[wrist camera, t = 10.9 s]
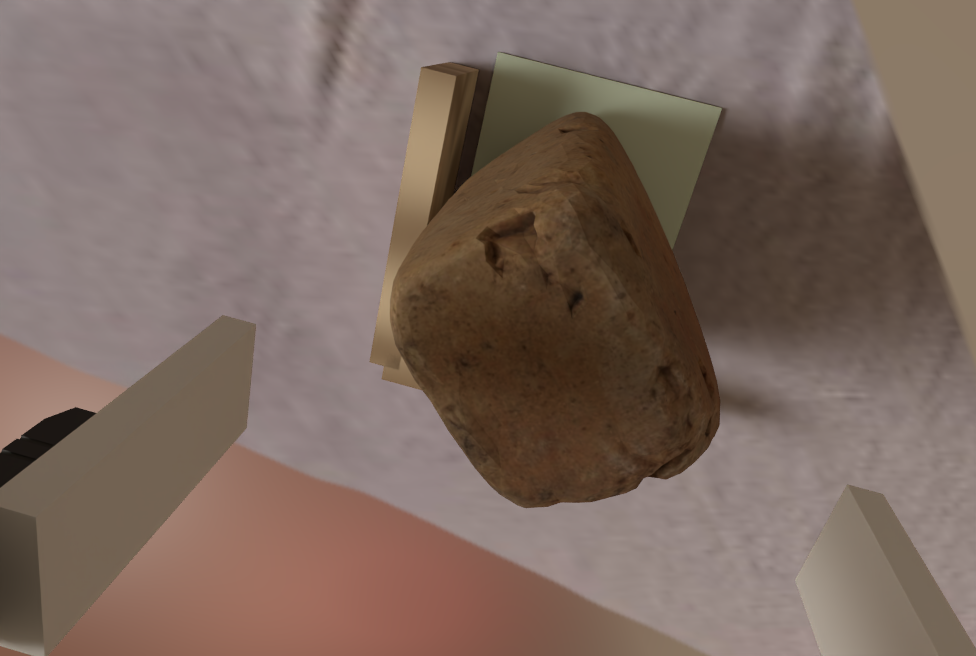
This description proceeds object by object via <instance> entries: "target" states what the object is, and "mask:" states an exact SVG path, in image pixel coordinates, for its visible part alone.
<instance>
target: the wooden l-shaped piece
mask: <svg viewBox="0 0 976 656" xmlns="http://www.w3.org/2000/svg"><path fill="white" fill-rule="evenodd" d="M478 72H479V70H478V69H474V68H470V67H466V66H462V65H459V64H455V63H451V62H448V63H442V64H437V65H431V66H426V67H421V72H420V78H419V83H418V89H417V95H416V100H415V106H414V112H413V118H412V123H411V129H410V135H409V140H408V146H407V152H406V157H405V163H404V169H403V174H402V180H401V186H400V192H399V197H398V203H397V209H396V214H395V220H394V226H393V231H392V237H391V243H390V248H389V254H388V260H387V266H386V271H385V277H384V283H383V288H382V294H381V300H380V305H379V311H378V317H377V322H376V328H375V334H374V340H373V345H372V351H371V357H370V362H371V363H375V364H379V365H382V366H384V369H383V375H382V379H383V380H387V381H390V382H394V383H398V384H401V385H405V386H409V387H412V388H416V389H420V390H422V389H421V388H420V387H419V385H418V384H417V383H416V381H415V380H414V378H413V376H412V374H411V373H410V371H409V369H408V367H407V365H406V363H405V362H404V360H403V358H402V356H401V354H400V352H399V351H398V349H397V347H396V345H395V341H394V337H393V332H392V328H391V323H390V298H391V292H392V286H393V281H394V278H395V276H396V274H397V271H398V269H399V267H400V266H401V264H402V262H403V261H404V259H405V257H406V256H407V254H408V252H409V250H410V249H411V247H412V245H413V244H414V242H415V241H416V240H417V238H418V237H419V235H420V234H421V232H422V231H423V230H424V229H425V228H426V227H427V225H428V224H429V223H430V222H431V220H432V219H433V218H434V217H435V216H436V215H437V213H438V212H439V211H440V210H441V208H442V207H443V206H444V205H445V204H446V202H447V201H448V200H449V199H450V198H451V197H452V196H453V193H454V188H455V183H456V178H457V173H458V169H459V164H460V159H461V154H462V149H463V145H464V140H465V135H466V130H467V125H468V120H469V116H470V111H471V106H472V101H473V96H474V92H475V87H476V82H477V77H478Z"/></svg>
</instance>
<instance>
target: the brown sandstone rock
mask: <svg viewBox="0 0 976 656" xmlns="http://www.w3.org/2000/svg"><path fill="white" fill-rule="evenodd" d="M390 323H391V328H392V332H393V337H394V341H395V345H396V347H397V349H398V351H399V352H400V354H401V356H402V358H403V360H404V362H405V363H406V365H407V367H408V369H409V371H410V373H411V374H412V376H413V378H414V380H415V381H416V383H417V384H418V385H419V387H420V388H421V389H422V390H423V392H424V393H425V394H426V395H427V397H428V398H429V399H430V401H431V402H432V404H433V406H434V407H435V409H436V411H437V412H438V414H439V416H440V417H441V419H442V421H443V422H444V424H445V426H446V427H447V429H448V431H449V432H450V434H451V435H452V436H453V438H454V439H455V441H456V442H457V443H458V445H459V446H460V448H461V449H462V450H463V452H464V453H465V455H466V456H467V457H468V459H469V460H470V462H471V463H472V465H473V466H474V467H475V469H476V470H477V471H478V472H479V473H480V474H481V476H482V477H483V478H484V479H485V480H486V481H487V483H488V484H489V485H490V486H491V487H492V488H493V489H494V490H496V491H497V492H498V493H499V494H500V495H501V496H503V497H505V498H506V499H508V500H510V501H511V502H513V503H515V504H516V505H518V506H521V507H524V508H534V507H548V506H551V505H554V504H557V503H560V502H572V503H580V502H593V501H597V500H601V499H605V498H609V497H612V496H616V495H620V494H624V493H627V492H629V491H631V490H633V489H636V488H637V487H638V485H639V484H640V482H641V481H642V480H643V478H645V477H654V478H660V479H668V478H670V477H673V476H675V475H677V474H680V473H682V472H683V471H684V470H686V469H687V468H688V467H689V466H691V465H692V464H693V463H694V462H695V461H696V460H697V459H698V458H699V457H700V456H701V455H702V454H703V453H704V452H705V451H706V450H707V448H708V447H709V445H710V443H711V441H712V439H713V437H714V436H715V434H716V432H717V429H718V427H719V422H720V397H719V392H718V386H717V380H716V376H715V372H714V369H713V365H712V362H711V358H710V355H709V352H708V348H707V345H706V342H705V339H704V336H703V333H702V330H701V327H700V324H699V322H698V319H697V316H696V314H695V311H694V308H693V305H692V302H691V299H690V296H689V293H688V291H687V288H686V285H685V282H684V280H683V277H682V275H681V272H680V270H679V267H678V265H677V262H676V259H675V257H674V254H673V251H672V249H671V246H670V244H669V242H668V239H667V237H666V235H665V233H664V230H663V228H662V226H661V223H660V221H659V219H658V216H657V214H656V212H655V210H654V207H653V205H652V203H651V201H650V199H649V196H648V194H647V192H646V190H645V188H644V186H643V184H642V182H641V180H640V179H639V177H638V175H637V173H636V170H635V168H634V166H633V164H632V162H631V161H630V159H629V157H628V155H627V154H626V152H625V150H624V148H623V146H622V145H621V143H620V141H619V140H618V138H617V137H616V135H615V133H614V132H613V131H612V130H611V128H610V127H609V126H608V125H607V124H606V123H605V122H604V121H603V120H602V119H601V118H600V117H598V116H596V115H593V114H590V113H588V112H575V113H571V114H568V115H565V116H563V117H561V118H559V119H557V120H555V121H553V122H551V123H549V124H548V125H546V126H544V127H543V128H541V129H540V130H538V131H537V132H535V133H534V134H532V135H530V136H529V137H527V138H526V139H524V140H523V141H521V142H519V143H518V144H516V145H515V146H513V147H512V148H510V149H509V150H507V151H506V152H504V153H503V154H501V155H500V156H498V157H497V158H496V159H494V160H493V161H491V162H490V163H489V164H487V165H486V166H484V167H483V168H482V169H480V170H479V171H478V172H477V173H475V174H474V175H473V176H471V177H470V178H469V179H468V180H467V181H466V182H465V183H464V184H463V185H462V186H461V187H460V188H459V189H458V190H457V192H456V193H455V194H454V195H453V196H452V197H451V198H450V199H449V200H448V201H447V202H446V204H445V205H444V206H443V207H442V208H441V210H440V211H439V212H438V213H437V215H436V216H435V217H434V218H433V219H432V220H431V222H430V223H429V224H428V225H427V227H426V228H425V229H424V230H423V231H422V232H421V234H420V235H419V237H418V238H417V240H416V241H415V242H414V244H413V245H412V247H411V249H410V250H409V252H408V254H407V256H406V257H405V259H404V261H403V262H402V264H401V266H400V267H399V269H398V271H397V274H396V276H395V278H394V281H393V286H392V292H391V298H390Z"/></svg>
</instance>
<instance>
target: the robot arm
mask: <svg viewBox="0 0 976 656" xmlns="http://www.w3.org/2000/svg"><path fill="white" fill-rule="evenodd" d="M255 331H256V324H253V323H250V322H246V321H242V320H238V319H235V318H231V317H227V316H224V315H223V316H221V317H220V318H219V319H217V320H216V321H215V322H214V323H212V324H211V325H210V326H208V327H207V328H206V329H205V330H203V331H202V332H201V333H199V334H198V335H197V336H195V337H194V338H193V339H192V340H190V341H189V342H188V343H186V344H185V345H184V346H183V347H181V348H180V349H179V350H177V351H176V352H175V353H174V354H172V355H171V356H170V357H168V358H167V359H166V360H165V361H163V362H162V363H161V364H159V365H158V366H157V367H155V368H154V369H153V370H152V371H150V372H149V373H148V374H146V375H145V376H144V377H143V378H141V379H140V380H139V381H137V382H136V383H135V384H134V385H132V386H131V387H130V388H128V389H127V390H126V391H125V392H123V393H122V394H121V395H119V396H118V397H117V398H116V399H114V400H113V401H112V402H110V403H109V404H108V405H106V406H105V407H104V408H103V409H102V410H100V411H99V412H98V413H94V412H90V411H87V410H83V409H80V408H76V407H75V408H73V409H70V410H67V411H65V412H62V413H59V414H57V415H54V416H51V417H48V418H46V419H44V420H43V421H41V422H40V423H38V424H37V425H35V426H34V427H33V428H31V429H30V430H28V431H27V432H26V433H24V434H23V435H21V438H20V439H16V440H14V441H13V442H12V443H10V444H9V445H8V446H6V447H5V448H3V449H2V452H1V453H0V646H2V647H6V648H9V649H12V650H16V651H19V652H22V653H26V654H29V655H33V656H48V655H49V654H50V653H51V652H52V650H53V649H54V648H55V647H56V646H57V645H58V644H59V642H60V641H61V640H62V639H63V638H64V636H65V635H66V634H67V633H68V632H69V631H70V630H71V629H72V627H73V626H74V625H75V624H76V623H77V622H78V621H79V619H80V618H81V617H82V616H83V615H84V614H85V613H86V611H87V610H88V609H89V608H90V607H91V606H92V604H93V603H94V602H95V601H96V600H97V599H98V598H99V596H100V595H101V594H102V593H103V592H104V591H105V590H106V588H107V587H108V586H109V585H110V584H111V583H112V581H113V580H114V579H115V578H116V577H117V576H118V575H119V573H120V572H121V571H122V570H123V569H124V568H125V567H126V565H127V564H128V563H129V562H130V561H131V560H132V559H133V557H134V556H135V555H136V554H137V553H138V552H139V551H140V549H141V548H142V547H143V546H144V545H145V544H146V543H147V541H148V540H149V539H150V538H151V537H152V535H154V533H155V532H156V531H157V530H158V529H159V528H160V526H161V525H162V524H163V523H164V522H165V521H166V520H167V519H168V517H169V516H170V515H171V514H172V513H173V512H174V511H175V509H176V508H177V507H178V506H179V505H180V504H181V503H182V501H183V500H184V499H185V498H186V497H187V496H188V494H189V493H190V492H191V491H192V490H193V489H194V488H195V486H196V485H197V484H198V483H199V482H200V481H201V480H202V478H203V477H204V476H205V475H206V474H207V473H208V471H209V470H210V469H211V468H212V467H213V466H214V465H215V464H216V462H217V461H218V460H219V459H220V458H221V457H222V456H223V454H224V453H225V452H226V451H227V450H228V449H229V448H230V446H231V445H232V444H233V443H234V442H235V441H236V439H237V438H238V437H239V436H240V435H241V434H242V433H243V431H244V430H245V429H246V428H247V418H248V407H249V396H250V385H251V374H252V363H253V352H254V341H255ZM795 582H796V584H797V587H798V590H799V593H800V596H801V599H802V602H803V604H804V607H805V610H806V613H807V616H808V619H809V622H810V624H811V627H812V630H813V633H814V636H815V639H816V642H817V644H818V647H819V650H820V653H821V656H976V648H975V646H974V645H973V643H972V641H971V640H970V638H969V636H968V635H967V633H966V631H965V630H964V628H963V626H962V625H961V623H960V622H959V620H958V618H957V617H956V615H955V613H954V612H953V610H952V608H951V607H950V605H949V603H948V602H947V600H946V598H945V597H944V595H943V593H942V592H941V590H940V588H939V587H938V585H937V583H936V582H935V580H934V578H933V577H932V575H931V573H930V572H929V570H928V568H927V567H926V565H925V563H924V562H923V560H922V558H921V557H920V555H919V553H918V552H917V550H916V548H915V547H914V545H913V543H912V542H911V540H910V538H909V537H908V535H907V533H906V532H905V530H904V528H903V527H902V525H901V523H900V522H899V520H898V518H897V517H896V515H895V513H894V512H893V510H892V508H891V507H890V505H889V503H888V502H887V500H886V498H885V497H884V495H883V494H880V493H877V492H873V491H869V490H866V489H862V488H858V487H854V486H851V485H847V486H846V488H845V489H844V491H843V493H842V495H841V497H840V499H839V500H838V502H837V504H836V506H835V508H834V510H833V511H832V513H831V515H830V517H829V519H828V521H827V522H826V524H825V526H824V528H823V530H822V532H821V533H820V535H819V537H818V539H817V541H816V543H815V544H814V546H813V548H812V550H811V552H810V554H809V555H808V557H807V559H806V561H805V563H804V565H803V566H802V568H801V570H800V572H799V574H798V576H797V578H796V579H795Z"/></svg>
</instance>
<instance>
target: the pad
mask: <svg viewBox="0 0 976 656" xmlns="http://www.w3.org/2000/svg"><path fill="white" fill-rule="evenodd" d="M721 110H722V108H720V107H716V106H712V105H708V104H704V103H700V102H696V101H692V100H688V99H684V98H680V97H676V96H672V95H668V94H664V93H660V92H656V91H652V90H648V89H644V88H640V87H636V86H632V85H628V84H624V83H620V82H616V81H612V80H608V79H604V78H600V77H596V76H592V75H588V74H584V73H580V72H576V71H572V70H568V69H564V68H560V67H556V66H552V65H548V64H544V63H540V62H536V61H532V60H528V59H524V58H520V57H516V56H512V55H508V54H504V53H500V52H498V54H497V59H496V63H495V68H494V73H493V77H492V82H491V86H490V91H489V96H488V100H487V105H486V110H485V114H484V119H483V123H482V128H481V133H480V137H479V142H478V147H477V151H476V156H475V160H474V165H473V170H472V174H471V176H473V175H474V174H475V173H477V172H478V171H479V170H480V169H482V168H483V167H484V166H486V165H487V164H489V163H490V162H491V161H493V160H494V159H496V158H497V157H498V156H500V155H501V154H503V153H504V152H506V151H507V150H509V149H510V148H512V147H513V146H515V145H516V144H518V143H519V142H521V141H523V140H524V139H526V138H527V137H529V136H530V135H532V134H534V133H535V132H537V131H538V130H540V129H541V128H543V127H544V126H546V125H548V124H549V123H551V122H553V121H555V120H557V119H559V118H561V117H563V116H565V115H568V114H571V113H575V112H588V113H590V114H593V115H596V116H598V117H600V118H601V119H602V120H603V121H604V122H605V123H606V124H607V125H608V126H609V127H610V128H611V130H612V131H613V132H614V133H615V135H616V137H617V138H618V140H619V141H620V143H621V145H622V146H623V148H624V150H625V152H626V154H627V155H628V157H629V159H630V161H631V162H632V164H633V166H634V168H635V170H636V173H637V175H638V177H639V179H640V180H641V182H642V184H643V186H644V188H645V190H646V192H647V194H648V196H649V199H650V201H651V203H652V205H653V207H654V210H655V212H656V214H657V216H658V219H659V221H660V223H661V226H662V228H663V230H664V233H665V235H666V237H667V239H668V242H669V244H670V246H671V249H672V250H673V247H674V244H675V242H676V239H677V236H678V233H679V230H680V227H681V224H682V222H683V219H684V216H685V213H686V210H687V207H688V204H689V202H690V199H691V196H692V193H693V190H694V187H695V184H696V182H697V179H698V176H699V173H700V170H701V167H702V164H703V162H704V159H705V156H706V153H707V150H708V147H709V144H710V141H711V139H712V136H713V133H714V130H715V127H716V124H717V121H718V119H719V116H720V113H721Z"/></svg>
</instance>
